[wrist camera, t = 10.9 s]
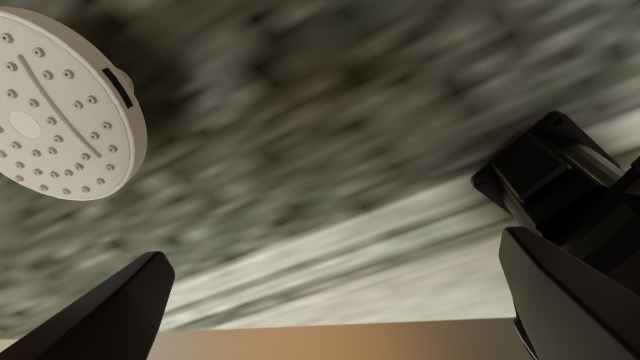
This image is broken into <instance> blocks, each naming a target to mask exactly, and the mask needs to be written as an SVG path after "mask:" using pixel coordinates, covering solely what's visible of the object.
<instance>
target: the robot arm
mask: <svg viewBox="0 0 640 360" xmlns="http://www.w3.org/2000/svg"><path fill="white" fill-rule="evenodd" d="M557 118H559V120H558V121H557V122H555V123H553V121H554V120H555V119H557ZM631 166H632V167H631V168H630V169H629V170H628V171H627V172H626V173H625V172H624V171H623V170H621V169H620V168H621V167H620V165H618V164H617V163H616V162H615V161H614V160H613V159H612V158H611V157H610V156H609V155H608V154H607V153H606V152H605V151H604V150H603V149H601V148H600V147H599V146H598V145H597V144H596V143H595V142H594V141H593V140H592V139H591V138H590V137H589V136H588V135H587V134H586V133H584V132H583V131H582V130H581V129H580V128H579V127H578V126H577V125H576V124H575V123H574V122H573V121H572V120H571V119H570V118H568V117H567V116H566V115H565V114H563V113H562V112H560V111H555V112H552V113H551V114H549V115H548V116H546V117H545V118H544V119H543V120H542V121H540V122H539V123H538V124H537V125H535V126H534V127H533V128H532V129H531V130H529V131H528V132H527V133H526V134H524V135H523V136H521V137H520V138H519V139H518V140H517V141H515V142H514V143H513V144H512V145H510V146H509V147H508V148H507V149H506V150H504V151H503V152H502V153H501V154H499V155H498V156H497V157H496V158H495V159H493V160H492V161H491V162H490V163H489V164H488V165H487V166H485V167H484V168H483V169H482V170H480V171H479V172H478V173H477V174H475V175H474V176H473V177H472V179H471V183H472V185H473V186H474V187H475V188H476V189H477V190H479V191H480V192H481V193H483V194H484V195H485V196H487V197H488V198H489V199H491V200H492V201H493V202H495V203H496V204H497V205H499V206H500V207H501V208H503V209H504V210H505V211H507V212H508V213H509V214H511V215H512V216H513V217H514V218H515V219H516V221H517V222H518V224H519V225H520V226H518V227H507V228H505V229H504V230H503V233H502V238H501V244H500V249H499V259H500V263H501V266H502V268H503V271H504V274H505V277H506V280H507V283H508V285H509V288H510V291H511V294H512V297H513V302H514V307H515V311H516V317H515V318H514V319H513V322H514V325H515V328H516V330H517V332H518V334H519V336H520V338H521V339H522V341H523V343H524V346H525V348H526V349H527V351H528V352H529V354H530V355H531V357H532V358H533V359H534V360H640V156H639V157H638V158H637V159H636V160H635V161H634V162H633V163H632V164H631ZM479 180H482V181H481V182H480V183H477V182H478V181H479ZM174 279H175V272H174V269H173V267H172V266H171V264H170V263H169V261H168V259H167V258H166V256H165V255H164V253H162V252H160V251H154V252H147V253H144V254H143V255H141V256H140V257H139V258H137V259H136V260H134V261H133V262H131V263H130V264H128V265H127V266H125V267H124V268H123V269H121V270H120V271H118V272H117V273H115V274H114V275H112V276H111V277H109V278H108V279H107V280H105V281H104V282H102V283H101V284H99V285H98V286H96V287H95V288H94V289H92V290H91V291H89V292H88V293H86V294H85V295H83V296H82V297H80V298H79V299H78V300H76V301H75V302H73V303H72V304H70V305H69V306H67V307H66V308H64V309H63V310H62V311H60V312H59V313H57V314H56V315H54V316H53V317H51V318H50V319H49V320H47V321H46V322H44V323H43V324H41V325H40V326H38V327H37V328H35V329H34V330H33V331H31V332H30V333H28V334H27V335H25V336H24V337H22V338H21V339H19V340H18V341H17V342H15V343H14V344H12V345H11V346H9V347H8V348H6V349H5V350H4V351H2V352H1V353H0V360H146V359H147V357H148V354H149V352H150V350H151V347H152V345H153V342H154V340H155V338H156V335H157V333H158V330H159V327H160V324H161V321H162V318H163V314H164V311H165V308H166V305H167V302H168V298H169V295H170V292H171V289H172V286H173V282H174Z"/></svg>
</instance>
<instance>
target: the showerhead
mask: <svg viewBox="0 0 640 360" xmlns="http://www.w3.org/2000/svg"><path fill="white" fill-rule="evenodd" d="M146 151H147V129H146V124H145V120H144V117H143V114H142V111H141V108H140V106H139V103H138V101H137V99H136V97H135V95H134V86H133V83H132V81H131V79H130V78H129V76H128V75H127V74H126V73H124V72H123V71H122V70H120V69H118V68H115V66H114V65H113V64H112V63H111V62H110V61H109V60H108V59H107V58H106V57H105V56H104V55H103V54H102V53H101V52H100V51H99V50H98V49H97V48H96V47H95V46H94V45H92V44H91V43H90V42H89V41H87V40H86V39H85V38H83V37H82V36H81V35H79V34H78V33H76V32H75V31H73V30H72V29H70V28H68V27H67V26H65V25H63V24H61V23H60V22H58V21H56V20H54V19H51V18H49V17H47V16H45V15H42V14H39V13H36V12H33V11H30V10H26V9H22V8H14V7H1V6H0V172H1V173H2V174H4V175H5V176H7V177H9V178H11V179H12V180H14V181H16V182H18V183H20V184H21V185H23V186H26V187H28V188H30V189H33V190H35V191H38V192H40V193H43V194H46V195H50V196H53V197H57V198H62V199H68V200H81V201H84V200H95V199H99V198H103V197H106V196H109V195H111V194H113V193H114V192H116V191H117V190H119V189H120V188H121V187H122V186H123V185H124V184H125V183H126V182H127V181H128V180H129V179H130V178H131V177H132V176H133V175H134V174H135V173H136V172H137V171H138V170H139V168H140V167H141V165H142V163H143V161H144V158H145V155H146Z"/></svg>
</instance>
